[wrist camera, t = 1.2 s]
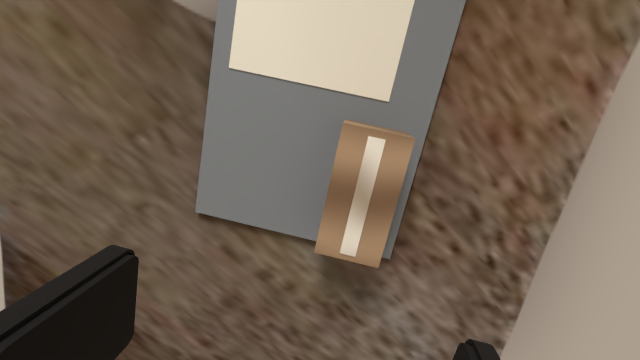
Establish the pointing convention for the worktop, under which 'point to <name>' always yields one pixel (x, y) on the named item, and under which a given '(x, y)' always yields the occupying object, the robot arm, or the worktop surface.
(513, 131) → the worktop surface
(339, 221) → the block
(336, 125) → the mat
